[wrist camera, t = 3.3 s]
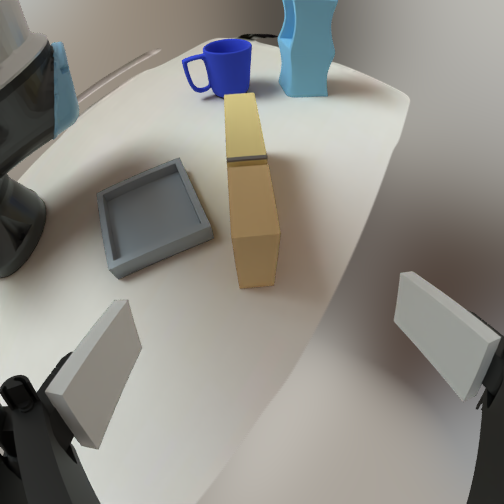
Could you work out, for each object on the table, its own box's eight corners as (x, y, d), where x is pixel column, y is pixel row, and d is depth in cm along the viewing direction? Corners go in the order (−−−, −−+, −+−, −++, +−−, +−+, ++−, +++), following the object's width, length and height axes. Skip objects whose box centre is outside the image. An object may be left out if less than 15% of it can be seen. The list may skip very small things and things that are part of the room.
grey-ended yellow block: (265, 226, 32) (268, 160, 23) (235, 228, 32) (226, 164, 23) (255, 152, 38) (254, 91, 29) (230, 154, 38) (223, 93, 29)
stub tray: (118, 279, 30) (108, 269, 27) (104, 204, 35) (96, 193, 33) (213, 238, 32) (210, 225, 30) (183, 170, 37) (179, 157, 35)
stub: (273, 285, 29) (280, 233, 20) (239, 288, 29) (231, 238, 20) (266, 227, 32) (268, 164, 24) (235, 230, 32) (227, 167, 23)
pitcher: (276, 79, 49) (278, -10, 32) (313, 78, 50) (322, -7, 32) (287, 97, 46) (293, -4, 28) (327, 96, 46) (341, 1, 28)
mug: (184, 93, 47) (176, 49, 39) (243, 79, 49) (241, 36, 41) (195, 112, 44) (186, 63, 35) (260, 96, 46) (259, 48, 37)
